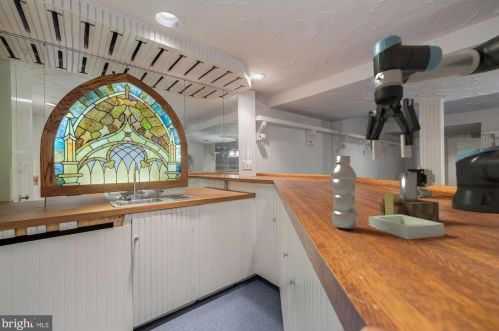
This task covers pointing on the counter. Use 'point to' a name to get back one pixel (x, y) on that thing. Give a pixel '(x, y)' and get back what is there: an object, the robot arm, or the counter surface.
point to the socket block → (415, 209)
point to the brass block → (391, 202)
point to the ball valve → (423, 181)
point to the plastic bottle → (344, 194)
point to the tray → (407, 226)
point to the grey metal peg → (408, 187)
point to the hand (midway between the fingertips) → (390, 158)
